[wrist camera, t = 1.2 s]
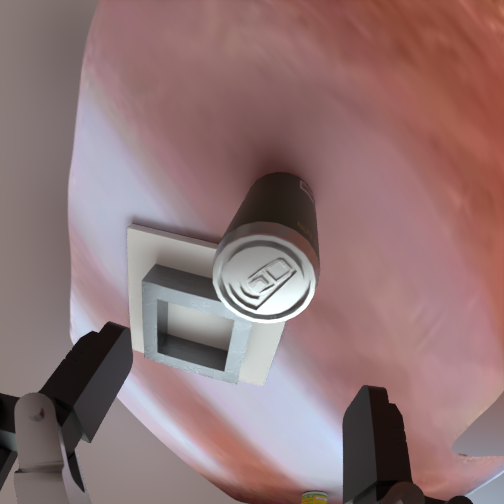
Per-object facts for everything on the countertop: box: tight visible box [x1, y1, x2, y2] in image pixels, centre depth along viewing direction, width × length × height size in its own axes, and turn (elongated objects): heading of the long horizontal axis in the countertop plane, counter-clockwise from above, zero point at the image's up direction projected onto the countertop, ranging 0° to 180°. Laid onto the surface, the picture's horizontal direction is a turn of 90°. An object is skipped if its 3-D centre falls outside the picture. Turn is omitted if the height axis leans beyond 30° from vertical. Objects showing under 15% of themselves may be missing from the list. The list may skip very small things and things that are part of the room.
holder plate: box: [127, 224, 286, 386], centre depth 32 cm, size 16×16×1 cm
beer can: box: [212, 172, 320, 324], centre depth 20 cm, size 5×5×12 cm
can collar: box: [142, 264, 253, 384], centre depth 30 cm, size 10×10×3 cm
